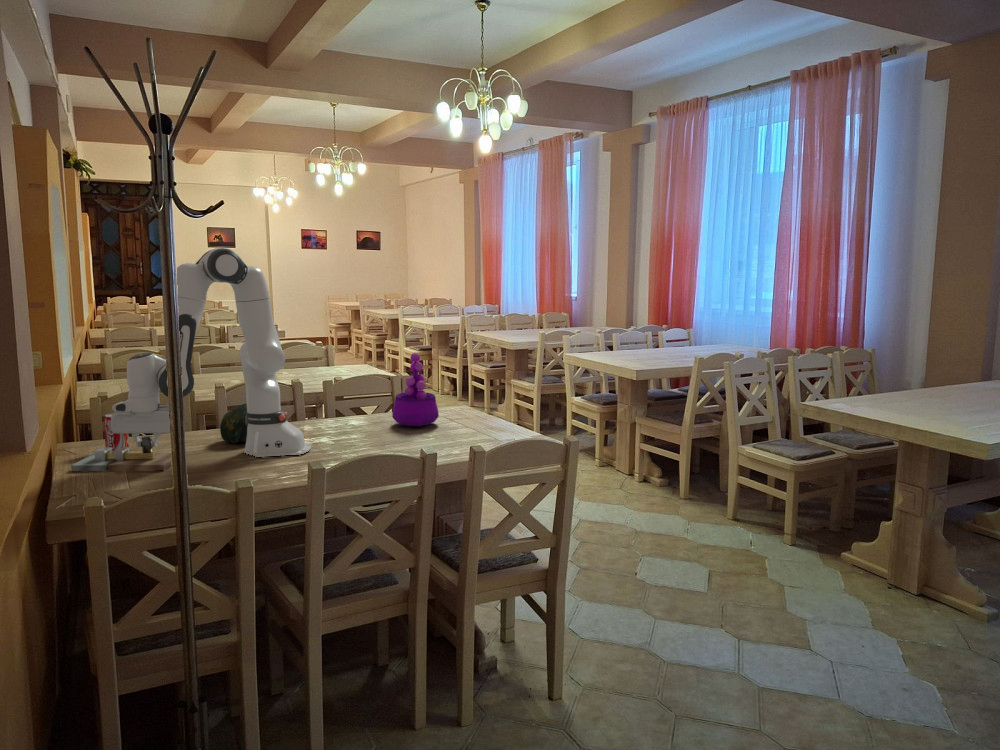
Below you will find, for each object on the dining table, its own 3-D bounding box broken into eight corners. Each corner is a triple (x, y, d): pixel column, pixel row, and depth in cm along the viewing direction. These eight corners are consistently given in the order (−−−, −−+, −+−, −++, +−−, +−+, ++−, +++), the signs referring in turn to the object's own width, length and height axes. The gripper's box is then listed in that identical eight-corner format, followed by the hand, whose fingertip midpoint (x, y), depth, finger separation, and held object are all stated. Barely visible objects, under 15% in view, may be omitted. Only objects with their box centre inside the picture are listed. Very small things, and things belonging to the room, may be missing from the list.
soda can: (102, 454, 240) (99, 417, 238) (110, 449, 247) (107, 412, 245) (125, 454, 241) (122, 416, 239) (132, 448, 248) (129, 412, 246)
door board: (181, 459, 236) (180, 453, 235) (164, 471, 222) (163, 464, 222) (94, 459, 234) (93, 453, 234) (71, 471, 220) (71, 465, 220)
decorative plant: (389, 421, 296) (388, 350, 291) (432, 419, 302) (432, 349, 297) (396, 431, 278) (395, 356, 274) (442, 429, 284) (442, 354, 279)
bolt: (156, 456, 230) (155, 435, 228) (152, 459, 227) (151, 438, 226) (108, 457, 229) (107, 435, 228) (104, 459, 226) (102, 438, 225)
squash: (205, 428, 257) (225, 400, 251) (236, 421, 270) (256, 395, 265) (227, 457, 253) (248, 429, 248) (258, 449, 267) (278, 422, 262)
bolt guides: (129, 457, 230) (129, 446, 230) (122, 461, 225) (121, 450, 225) (102, 457, 229) (101, 447, 229) (94, 461, 225) (94, 451, 224)
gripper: (181, 402, 229) (184, 443, 231) (116, 402, 228) (119, 444, 230) (174, 406, 223) (176, 448, 225) (106, 406, 221) (110, 449, 223)
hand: (147, 446), depth 227 cm, fingers closed on bolt, 3 cm apart
